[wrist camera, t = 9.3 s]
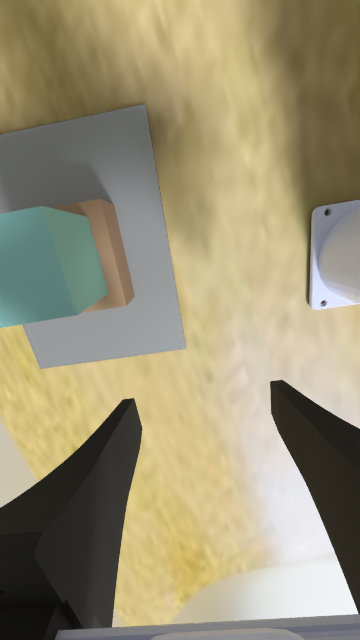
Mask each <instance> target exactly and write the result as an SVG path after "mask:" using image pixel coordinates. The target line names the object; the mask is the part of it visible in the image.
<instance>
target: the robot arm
mask: <svg viewBox="0 0 360 640" xmlns="http://www.w3.org/2000/svg"><path fill="white" fill-rule="evenodd" d="M326 209H327V210H328V212H329V213H328V215H327V216H325V214H324V212H325V210H326ZM323 300H324V304H323V305H321V302H322V301H323ZM354 304H360V200H354V201H349V202H343V203H337V204H331V205H325V206H320V207H317V208H315V209H314V210H313V212H312V221H311V259H310V296H309V305H310V307H311V308H312V309H314V310H319V309H326V308H333V307H340V306H347V305H354ZM270 388H271V414H272V416H273V419H274V421H275V424H276V427H277V429H278V431H279V434H280V435H281V437H282V439H283V441H284V443H285V445H286V447H287V449H288V451H289V452H290V454H291V456H292V458H293V460H294V462H295V463H296V465H297V467H298V469H299V471H300V473H301V475H302V476H303V478H304V480H305V483H306V485H307V487H308V489H309V491H310V493H311V496H312V498H313V500H314V503H315V505H316V507H317V510H318V512H319V514H320V517H321V519H322V521H323V524H324V526H325V529H326V531H327V533H328V536H329V538H330V541H331V543H332V546H333V548H334V551H335V553H336V555H337V558H338V561H339V563H340V566H341V568H342V571H343V573H344V576H345V579H346V581H347V584H348V586H349V589H350V592H351V595H352V597H353V600H354V602H355V605H356V608H357V610H358V613H359V614H356V615H355V614H354V615H336V616H317V617H301V618H300V617H299V618H280V619H262V620H244V621H226V622H207V623H189V624H169V625H150V626H132V627H115V628H112V619H113V609H114V599H115V589H116V580H117V571H118V563H119V554H120V547H121V540H122V532H123V525H124V519H125V512H126V505H127V500H128V495H129V491H130V487H131V483H132V479H133V475H134V470H135V466H136V462H137V458H138V454H139V449H140V443H141V435H142V426H141V422H140V418H139V414H138V411H137V407H136V403H135V400H134V398H132V399H124V400H122V401H121V402H120V404H119V405H118V406H117V407H116V408H115V410H114V411H113V412H112V413H111V414H110V415H109V417H108V418H107V419H106V420H105V421H104V422H103V423H102V425H101V426H100V427H99V428H98V429H97V430H96V431H95V432H94V433H93V434H92V435H91V436H90V437H89V438H88V440H87V441H86V442H85V443H84V444H83V445H82V446H81V447H80V448H79V449H77V450H76V451H75V452H74V453H73V454H72V455H71V456H70V457H69V458H68V459H66V460H65V461H64V462H63V463H62V464H61V465H59V466H58V467H57V468H56V469H54V470H53V471H52V472H51V473H49V474H48V475H47V476H46V477H44V478H43V479H42V480H41V481H39V482H38V483H36V484H35V485H34V486H32V487H31V488H30V489H28V490H27V491H25V492H24V493H22V494H21V495H20V496H18V497H17V498H15V499H14V500H12V501H11V502H9V503H7V504H6V505H4V506H3V507H1V508H0V640H360V429H359V428H357V427H355V426H353V425H351V424H350V423H348V422H346V421H344V420H342V419H340V418H339V417H337V416H335V415H334V414H332V413H330V412H329V411H327V410H325V409H324V408H322V407H321V406H319V405H318V404H316V403H315V402H313V401H312V400H310V399H309V398H307V397H306V396H304V395H303V394H301V393H300V392H299V391H297V390H296V389H294V388H293V387H292V386H290V385H289V384H288V383H286V382H285V381H283V380H278V381H270Z"/></svg>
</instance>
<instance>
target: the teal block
mask: <svg viewBox="0 0 360 640" xmlns="http://www.w3.org/2000/svg"><path fill="white" fill-rule="evenodd" d="M108 293H109V291H108V288H107V284H106V280H105V277H104V273H103V270H102V266H101V263H100V259H99V255H98V252H97V248H96V245H95V241H94V237H93V234H92V230H91V227H90V223H89V219H88V217H87V216H82V215H78V214H74V213H70V212H66V211H61V210H57V209H53V208H49V207H45V206H38V207H33V208H28V209H23V210H18V211H13V212H8V213H3V214H0V328H2V327H8V326H14V325H21V324H27V323H33V322H39V321H45V320H51V319H57V318H63V317H69V316H75V315H79V314H80V313H82V312H83V311H84V310H86V309H87V308H89V307H90V306H92V305H93V304H94V303H96V302H97V301H99V300H100V299H101V298H103V297H104V296H106V295H107V294H108Z"/></svg>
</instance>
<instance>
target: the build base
mask: <svg viewBox="0 0 360 640" xmlns="http://www.w3.org/2000/svg"><path fill="white" fill-rule="evenodd" d="M38 206H45V207H49V208H53V209H57V210H61V211H66V212H70V213H74V214H78V215H82V216H87V217H88V219H89V223H90V227H91V230H92V234H93V237H94V241H95V245H96V248H97V252H98V255H99V259H100V263H101V266H102V270H103V273H104V277H105V280H106V284H107V288H108V291H109V293H108V294H107V295H106V296H104V297H103V298H101V299H100V300H99V301H97V302H96V303H94V304H93V305H92V306H90V307H89V308H87V309H86V310H84V311H83V312H82V313H80V314H79V315H75V316H69V317H63V318H57V319H51V320H45V321H39V322H33V323H27V324H22V325H23V328H24V330H25V333H26V335H27V337H28V340H29V342H30V345H31V347H32V350H33V352H34V354H35V357H36V359H37V362H38V364H39V366H40V369H43V368H50V367H57V366H65V365H72V364H79V363H87V362H94V361H101V360H109V359H116V358H123V357H131V356H138V355H145V354H153V353H160V352H167V351H175V350H182V349H186V344H185V338H184V332H183V326H182V320H181V314H180V308H179V302H178V296H177V290H176V284H175V278H174V272H173V266H172V260H171V254H170V248H169V242H168V236H167V230H166V224H165V218H164V212H163V206H162V200H161V194H160V188H159V182H158V176H157V170H156V164H155V158H154V152H153V146H152V140H151V134H150V128H149V122H148V116H147V110H146V106H145V104H142V105H137V106H132V107H128V108H123V109H118V110H113V111H109V112H104V113H99V114H95V115H90V116H85V117H81V118H76V119H71V120H66V121H62V122H57V123H52V124H48V125H43V126H38V127H34V128H29V129H24V130H19V131H15V132H10V133H5V134H1V135H0V214H3V213H8V212H13V211H18V210H23V209H28V208H33V207H38Z"/></svg>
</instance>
